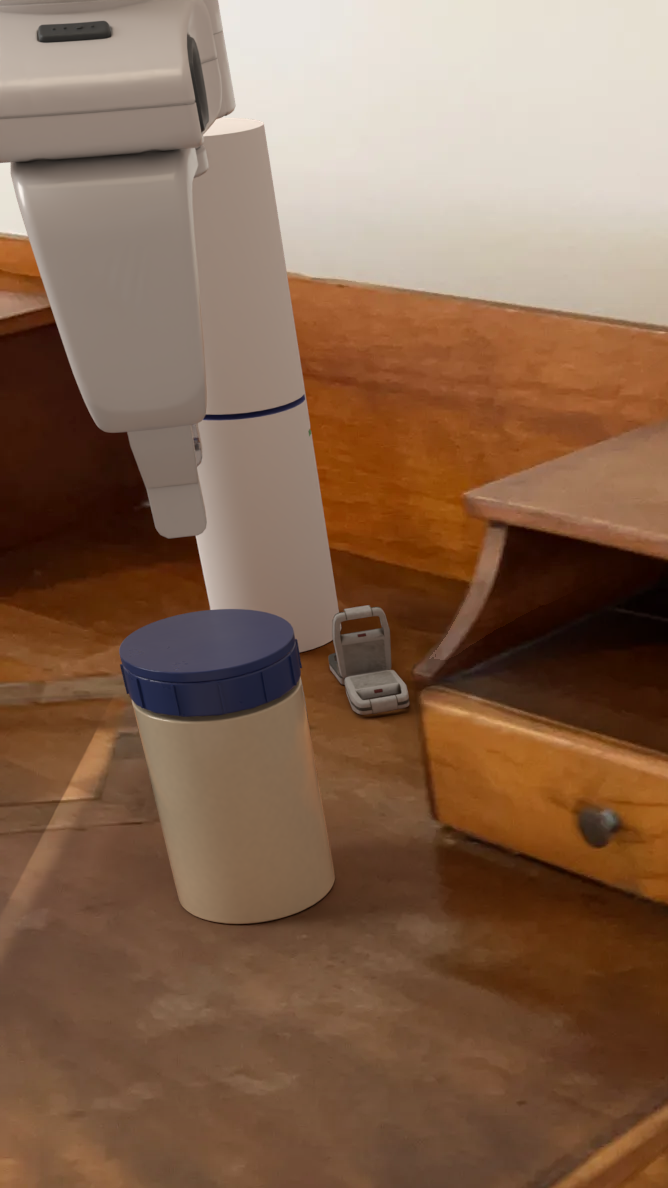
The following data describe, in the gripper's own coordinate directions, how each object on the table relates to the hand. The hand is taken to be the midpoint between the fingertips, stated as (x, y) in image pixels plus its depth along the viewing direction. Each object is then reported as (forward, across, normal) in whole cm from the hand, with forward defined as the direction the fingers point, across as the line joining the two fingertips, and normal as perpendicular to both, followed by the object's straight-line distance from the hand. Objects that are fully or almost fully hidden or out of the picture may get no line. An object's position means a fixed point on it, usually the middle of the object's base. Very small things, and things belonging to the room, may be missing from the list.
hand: (182, 496), depth 65 cm
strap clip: (+17, -21, +6) cm, 28 cm away
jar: (+16, 0, 0) cm, 17 cm away
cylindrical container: (+17, -31, +2) cm, 35 cm away
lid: (+6, 0, 0) cm, 6 cm away
